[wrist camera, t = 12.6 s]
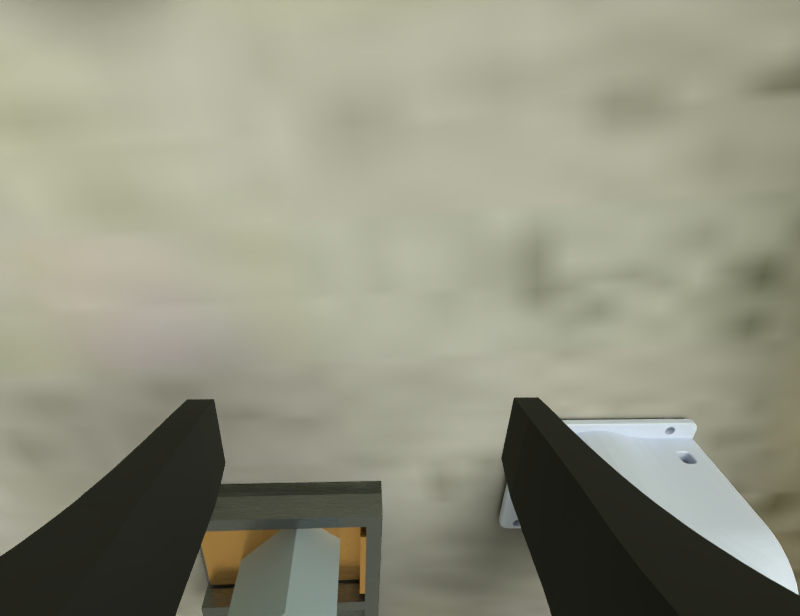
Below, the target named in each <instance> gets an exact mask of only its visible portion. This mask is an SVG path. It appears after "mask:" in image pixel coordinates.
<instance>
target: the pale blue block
mask: <svg viewBox="0 0 800 616" xmlns="http://www.w3.org/2000/svg"><path fill="white" fill-rule="evenodd" d="M339 556H340V539H339V538H338V537H336V536H334V535H332V534H331V533H329V532H327V531H325V530H323V529H322V528H311V529H281V530H279V531H278V532H277V533H276V534H274V535H273V536H272V537H270V538H269V539H268V540H266V541H265V542H264V543H263V544H261V545H260V546H259V547H257V548H256V549H255V550H254V551H252V552H251V553H250V554H248V555H247V556H246V557H245V558H243V559H242V560H241V562H240V566H239V571H238V575H237V579H236V583H235V587H234V591H233V595H232V599H231V604H230V608H229V612H228V616H337V597H338V576H339Z"/></svg>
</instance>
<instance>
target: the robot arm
mask: <svg viewBox="0 0 800 616" xmlns="http://www.w3.org/2000/svg"><path fill="white" fill-rule="evenodd" d="M696 430H697V426H696V424H695V423H694V422H693V421H692V420H691V419H625V420H561V419H560V418H559V417H558V416H557V415H556V414H555V413H554V412H553V411H552V410H551V409H550V408H549V407H548V406H547V405H546V404H545V403H543V402H542V401H541V400H540V399H539V398H514V400H513V405H512V410H511V415H510V420H509V425H508V429H507V434H506V439H505V444H504V449H503V453H502V463H503V468H504V472H505V477H506V481H507V484H506V489H505V493H504V498H503V502H502V507H501V511H500V516H499V522H500V525H501V526H502V527H503V528H521V529H522V532H523V534H524V537H525V540H526V543H527V545H528V548H529V551H530V553H531V556H532V559H533V562H534V564H535V567H536V570H537V573H538V575H539V578H540V581H541V584H542V586H543V589H544V592H545V596H546V599H547V602H548V605H549V608H550V611H551V615H552V616H800V595H799V594H798V588H797V584H796V580H795V577H794V574H793V571H792V569H791V566H790V564H789V561H788V559H787V557H786V555H785V553H784V551H783V549H782V547H781V545H780V544H779V542H778V541H777V539H776V537H775V536H774V534H773V533H772V532H771V531H770V529H769V528H768V527H767V525H766V524H765V523H764V522H763V521H762V520H761V518H760V517H759V516H758V515H757V514H756V513H755V511H754V510H753V509H752V508H751V507H750V506H749V504H748V503H747V502H746V501H745V500H744V499H743V497H742V496H741V495H740V494H739V493H738V491H737V490H736V489H735V488H734V487H733V486H732V484H731V483H730V482H729V481H728V480H727V479H726V477H725V476H724V475H723V474H722V473H721V472H720V470H719V469H718V468H717V467H716V466H715V465H714V463H713V462H712V461H711V460H710V459H709V458H708V456H707V455H706V454H705V453H704V452H703V451H702V449H701V448H700V447H699V446H698V445H697V444H696V442H695V441H694V440H693V436H694V434H695V432H696ZM224 467H225V458H224V453H223V447H222V441H221V436H220V430H219V424H218V419H217V413H216V408H215V402H214V399H205V400H186V401H185V402H184V403H183V404H182V405H181V406H180V407H179V408H178V409H177V410H176V411H174V412H173V413H172V414H171V415H170V416H169V417H168V418H167V419H166V420H165V421H164V422H163V423H162V424H161V425H160V426H159V427H158V428H157V429H156V430H155V431H154V432H153V433H152V434H150V435H149V436H148V437H147V438H146V439H145V440H144V441H143V442H142V443H141V444H140V445H139V446H138V447H137V448H136V449H134V450H133V451H132V452H131V453H130V454H129V455H128V456H127V457H126V458H125V459H124V460H122V461H121V462H120V463H119V464H118V465H117V466H116V467H115V468H114V469H113V470H111V471H110V472H109V473H108V474H107V475H106V476H105V477H103V478H102V479H101V480H100V481H99V482H97V483H96V484H95V485H94V486H93V487H92V488H90V489H89V490H88V491H87V492H86V493H85V494H83V495H82V496H81V497H80V498H79V499H77V500H76V501H75V502H74V503H72V504H71V505H70V506H69V507H67V508H66V509H65V510H64V511H62V512H61V513H60V514H58V515H57V516H56V517H55V518H53V519H52V520H51V521H49V522H48V523H47V524H45V525H44V526H43V527H41V528H40V529H38V530H37V531H36V532H34V533H33V534H32V535H30V536H29V537H28V538H26V539H25V540H23V541H22V542H21V543H19V544H18V545H16V546H15V547H14V548H12V549H11V550H9V551H8V552H6V553H5V554H3V555H2V556H0V616H175V615H176V612H177V609H178V606H179V603H180V600H181V598H182V595H183V592H184V590H185V587H186V584H187V581H188V579H189V576H190V573H191V571H192V568H193V565H194V563H195V560H196V557H197V554H198V552H199V549H200V546H201V544H202V541H203V538H204V535H205V533H206V530H207V527H208V524H209V522H210V519H211V516H212V513H213V510H214V508H215V505H216V501H217V497H218V493H219V489H220V485H221V480H222V476H223V471H224Z"/></svg>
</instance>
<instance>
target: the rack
mask: <svg viewBox="0 0 800 616" xmlns="http://www.w3.org/2000/svg"><path fill="white" fill-rule="evenodd" d="M311 528H322V529H323V530H325V531H327V532H329V533H331V534H332V535H334V536H336V537H338V538H339V539H340V556H339V576H338V597H337V616H378V603H379V581H380V559H381V537H382V492H381V481H376V482H327V483H278V484H229V485H220V489H219V493H218V497H217V501H216V505H215V508H214V510H213V513H212V516H211V519H210V522H209V524H208V527H207V530H206V533H205V535H204V538H203V541H202V544H201V546H200V550H201V554H202V558H203V562H204V566H205V570H206V575H207V579H208V583H209V585H208V588H207V591H206V595H205V598H204V602H203V605H202V612H203V616H228V612H229V608H230V604H231V599H232V595H233V591H234V587H235V583H236V579H237V575H238V571H239V566H240V562H241V560H242V559H243V558H245V557H246V556H247V555H248V554H250V553H251V552H252V551H254V550H255V549H256V548H257V547H259V546H260V545H261V544H263V543H264V542H265V541H266V540H268V539H269V538H270V537H272V536H273V535H274V534H276V533H277V532H278V531H279V530H281V529H311Z"/></svg>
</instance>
